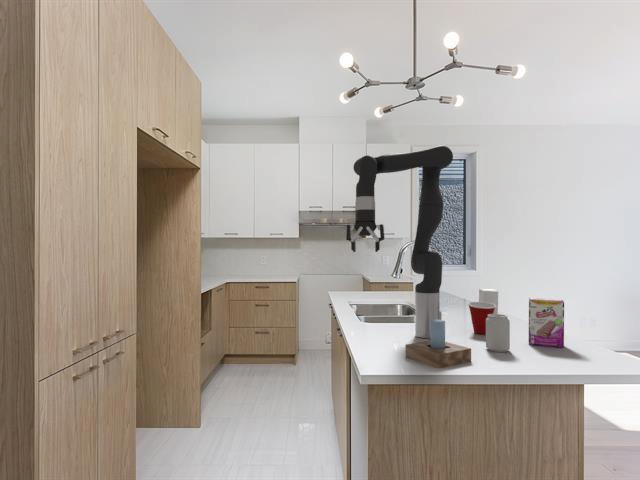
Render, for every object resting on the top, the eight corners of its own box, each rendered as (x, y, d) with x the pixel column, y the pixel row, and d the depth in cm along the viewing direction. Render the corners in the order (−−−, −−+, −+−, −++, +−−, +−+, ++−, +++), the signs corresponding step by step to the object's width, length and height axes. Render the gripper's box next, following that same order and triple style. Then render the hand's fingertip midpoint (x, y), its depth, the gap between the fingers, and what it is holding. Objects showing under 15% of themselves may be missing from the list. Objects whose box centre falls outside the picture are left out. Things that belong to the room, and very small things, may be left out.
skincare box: (478, 322, 195) (478, 288, 196) (493, 322, 195) (492, 288, 195) (483, 325, 187) (483, 290, 187) (498, 325, 186) (498, 290, 187)
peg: (437, 356, 135) (437, 319, 136) (448, 360, 132) (448, 321, 132) (427, 358, 133) (427, 320, 133) (438, 362, 129) (437, 322, 130)
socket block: (437, 351, 142) (437, 339, 142) (471, 361, 130) (471, 348, 130) (405, 357, 135) (405, 344, 135) (438, 368, 123) (438, 354, 123)
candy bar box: (528, 345, 151) (528, 299, 151) (528, 342, 155) (528, 297, 156) (564, 348, 146) (564, 300, 146) (563, 345, 151) (563, 299, 151)
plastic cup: (475, 336, 165) (475, 305, 165) (463, 330, 176) (463, 301, 176) (501, 335, 166) (501, 305, 166) (488, 330, 177) (488, 301, 177)
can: (508, 348, 146) (508, 313, 146) (510, 353, 139) (510, 317, 139) (485, 346, 149) (485, 312, 149) (486, 352, 141) (486, 316, 142)
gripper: (385, 209, 163) (385, 251, 163) (348, 210, 166) (348, 251, 166) (382, 208, 155) (383, 252, 155) (344, 208, 159) (344, 252, 159)
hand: (365, 251), depth 161 cm, fingers open, 8 cm apart
